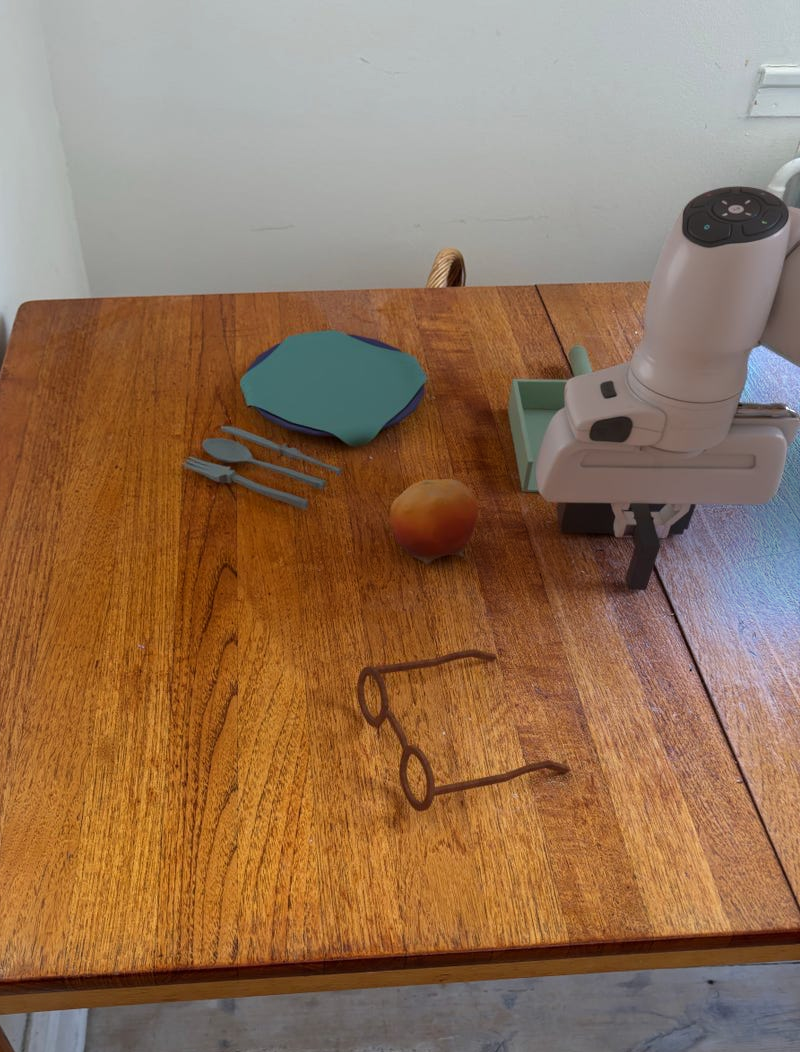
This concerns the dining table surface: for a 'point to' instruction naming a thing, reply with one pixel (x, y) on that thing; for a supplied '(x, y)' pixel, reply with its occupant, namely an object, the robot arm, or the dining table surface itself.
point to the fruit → (434, 518)
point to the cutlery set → (319, 400)
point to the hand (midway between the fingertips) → (638, 533)
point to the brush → (602, 521)
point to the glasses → (416, 750)
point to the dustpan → (538, 414)
